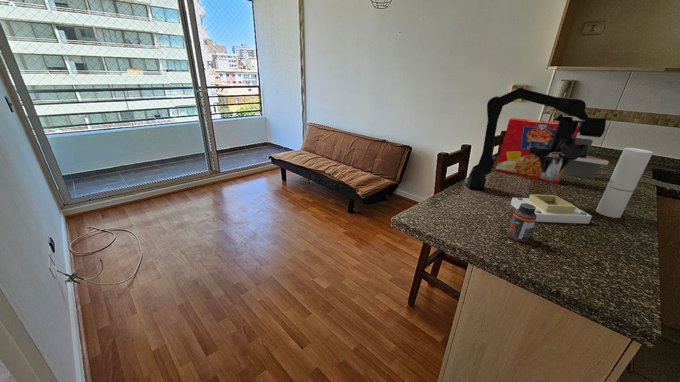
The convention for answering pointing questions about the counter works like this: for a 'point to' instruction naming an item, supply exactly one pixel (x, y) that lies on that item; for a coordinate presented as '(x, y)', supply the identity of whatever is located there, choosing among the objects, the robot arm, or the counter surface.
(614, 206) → the cylindrical container
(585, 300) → the counter surface
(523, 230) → the supplement bottle
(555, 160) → the spout can
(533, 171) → the pasta box
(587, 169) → the architectural model
